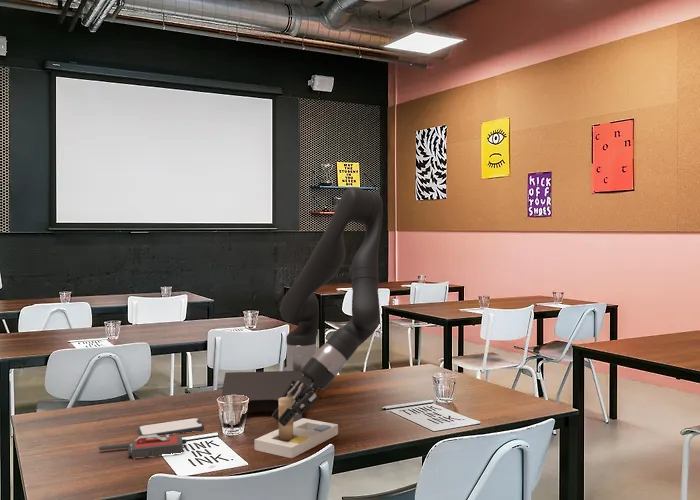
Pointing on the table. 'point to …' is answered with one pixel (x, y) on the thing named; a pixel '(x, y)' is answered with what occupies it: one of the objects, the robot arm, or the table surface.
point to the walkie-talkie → (150, 446)
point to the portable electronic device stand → (261, 388)
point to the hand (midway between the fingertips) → (277, 420)
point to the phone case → (172, 427)
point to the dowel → (287, 430)
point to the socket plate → (297, 438)
